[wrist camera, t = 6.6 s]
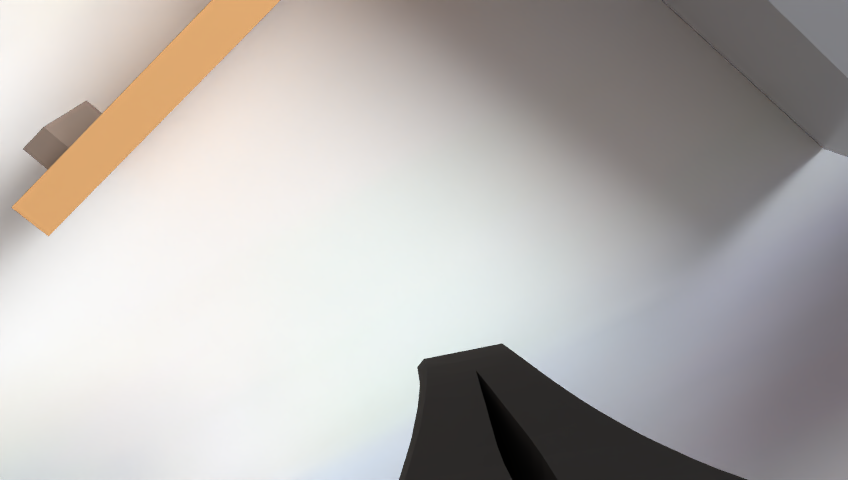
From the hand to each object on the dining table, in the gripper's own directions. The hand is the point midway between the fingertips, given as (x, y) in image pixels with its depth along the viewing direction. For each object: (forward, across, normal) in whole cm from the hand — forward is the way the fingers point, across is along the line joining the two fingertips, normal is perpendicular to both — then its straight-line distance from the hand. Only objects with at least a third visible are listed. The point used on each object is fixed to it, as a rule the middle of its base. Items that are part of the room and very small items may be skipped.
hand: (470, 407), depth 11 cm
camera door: (+9, +3, -6) cm, 11 cm away
